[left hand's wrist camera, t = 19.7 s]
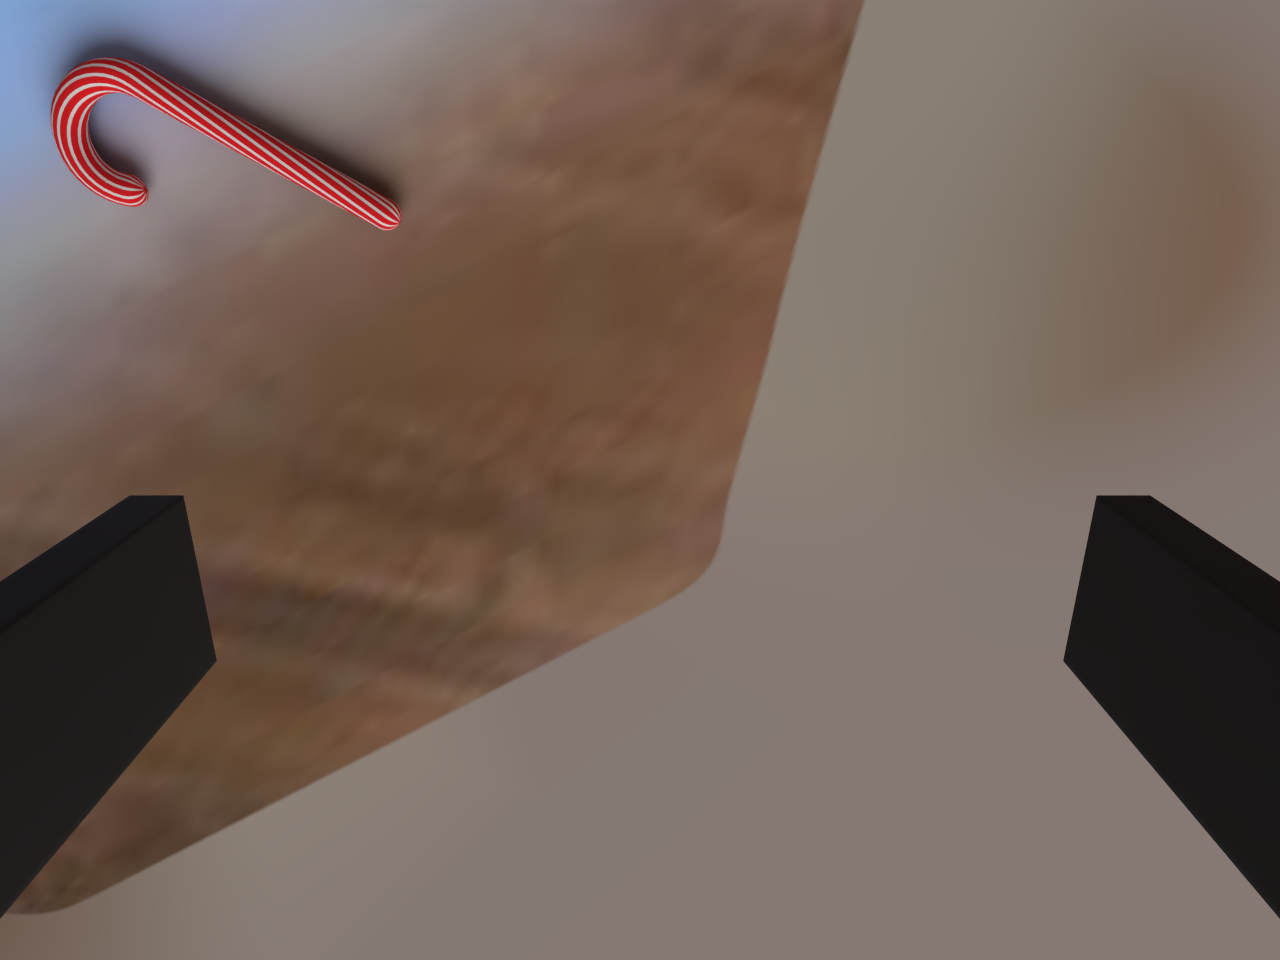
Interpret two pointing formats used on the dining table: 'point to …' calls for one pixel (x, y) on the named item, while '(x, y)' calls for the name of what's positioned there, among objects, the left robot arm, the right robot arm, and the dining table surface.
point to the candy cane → (201, 115)
